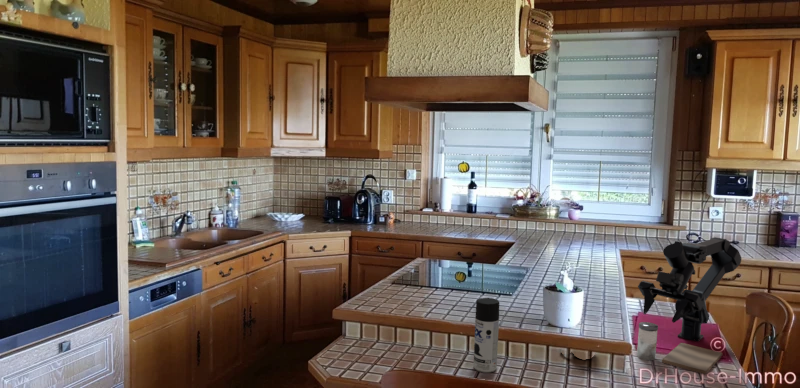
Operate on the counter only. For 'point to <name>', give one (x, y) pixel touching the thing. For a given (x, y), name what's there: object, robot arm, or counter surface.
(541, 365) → the counter surface
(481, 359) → the spray can
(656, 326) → the metal tin
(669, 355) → the tan wooden panel
